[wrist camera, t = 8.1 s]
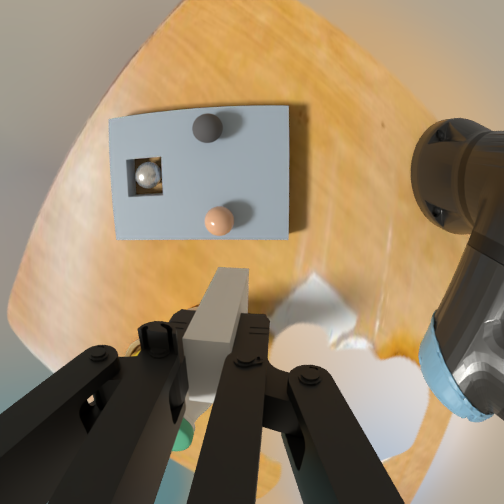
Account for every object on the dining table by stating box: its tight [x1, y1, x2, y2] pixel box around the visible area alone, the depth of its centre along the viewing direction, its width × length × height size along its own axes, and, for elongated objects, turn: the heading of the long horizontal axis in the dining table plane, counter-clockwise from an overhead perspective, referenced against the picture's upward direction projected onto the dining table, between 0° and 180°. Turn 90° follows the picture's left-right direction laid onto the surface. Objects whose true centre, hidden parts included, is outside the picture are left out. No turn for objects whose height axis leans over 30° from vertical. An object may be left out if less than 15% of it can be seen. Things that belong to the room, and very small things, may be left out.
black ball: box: [192, 113, 223, 143], centre depth 31 cm, size 3×3×3 cm
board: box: [109, 105, 289, 240], centre depth 36 cm, size 21×15×2 cm
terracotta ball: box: [205, 206, 234, 236], centre depth 34 cm, size 3×3×3 cm
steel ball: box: [135, 162, 162, 189], centre depth 36 cm, size 3×3×3 cm
